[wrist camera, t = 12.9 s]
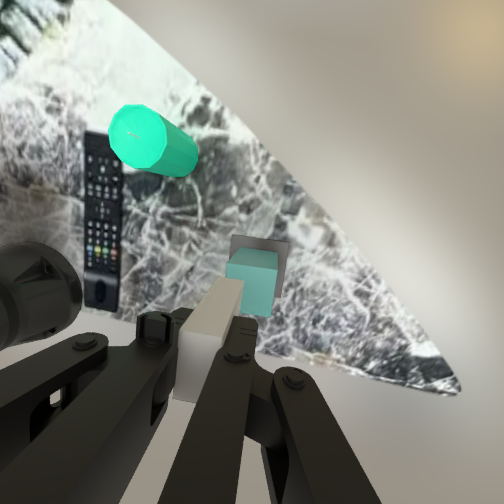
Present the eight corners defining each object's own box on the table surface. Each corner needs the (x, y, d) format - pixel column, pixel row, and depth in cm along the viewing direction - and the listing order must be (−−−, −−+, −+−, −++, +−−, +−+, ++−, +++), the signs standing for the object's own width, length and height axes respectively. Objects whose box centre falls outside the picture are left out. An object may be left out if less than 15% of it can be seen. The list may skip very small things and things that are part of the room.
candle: (149, 140, 36) (88, 110, 24) (190, 125, 35) (146, 87, 24) (164, 183, 37) (112, 175, 25) (204, 169, 36) (169, 155, 24)
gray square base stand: (226, 287, 39) (209, 316, 29) (232, 234, 38) (216, 246, 28) (280, 296, 39) (281, 328, 29) (289, 242, 37) (292, 257, 27)
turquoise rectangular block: (236, 282, 38) (222, 309, 28) (240, 247, 37) (227, 262, 27) (272, 288, 37) (270, 317, 28) (277, 252, 36) (277, 270, 27)
